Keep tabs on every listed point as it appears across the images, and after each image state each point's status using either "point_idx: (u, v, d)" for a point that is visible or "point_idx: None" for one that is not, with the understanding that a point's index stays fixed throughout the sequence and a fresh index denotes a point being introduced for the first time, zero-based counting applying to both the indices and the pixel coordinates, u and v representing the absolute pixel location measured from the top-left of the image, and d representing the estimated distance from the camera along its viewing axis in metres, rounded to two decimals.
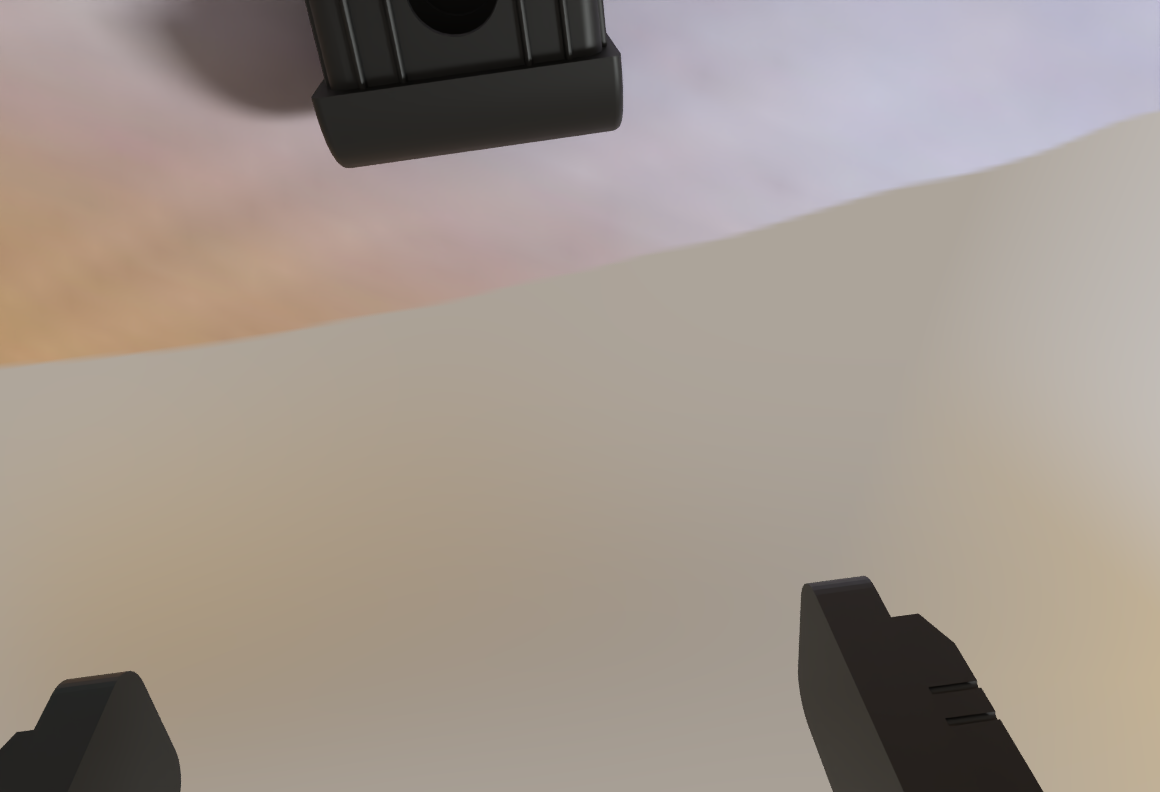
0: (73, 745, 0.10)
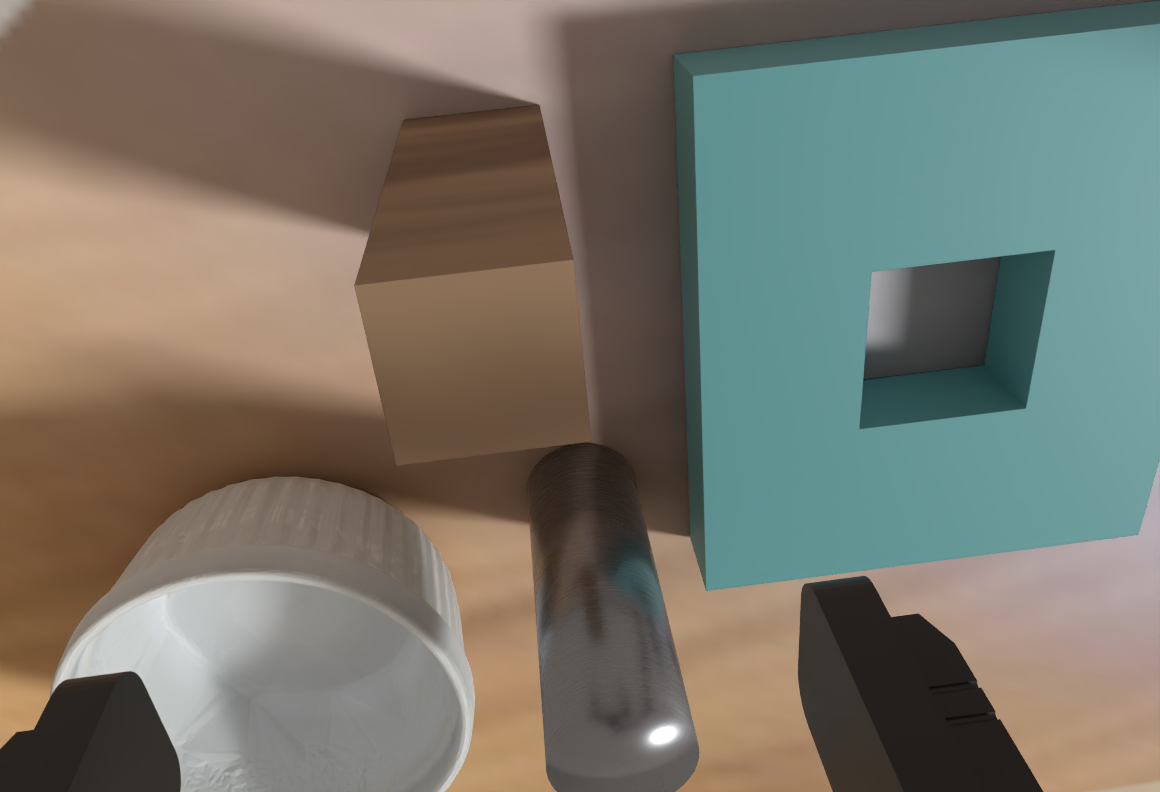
0: (73, 745, 0.10)
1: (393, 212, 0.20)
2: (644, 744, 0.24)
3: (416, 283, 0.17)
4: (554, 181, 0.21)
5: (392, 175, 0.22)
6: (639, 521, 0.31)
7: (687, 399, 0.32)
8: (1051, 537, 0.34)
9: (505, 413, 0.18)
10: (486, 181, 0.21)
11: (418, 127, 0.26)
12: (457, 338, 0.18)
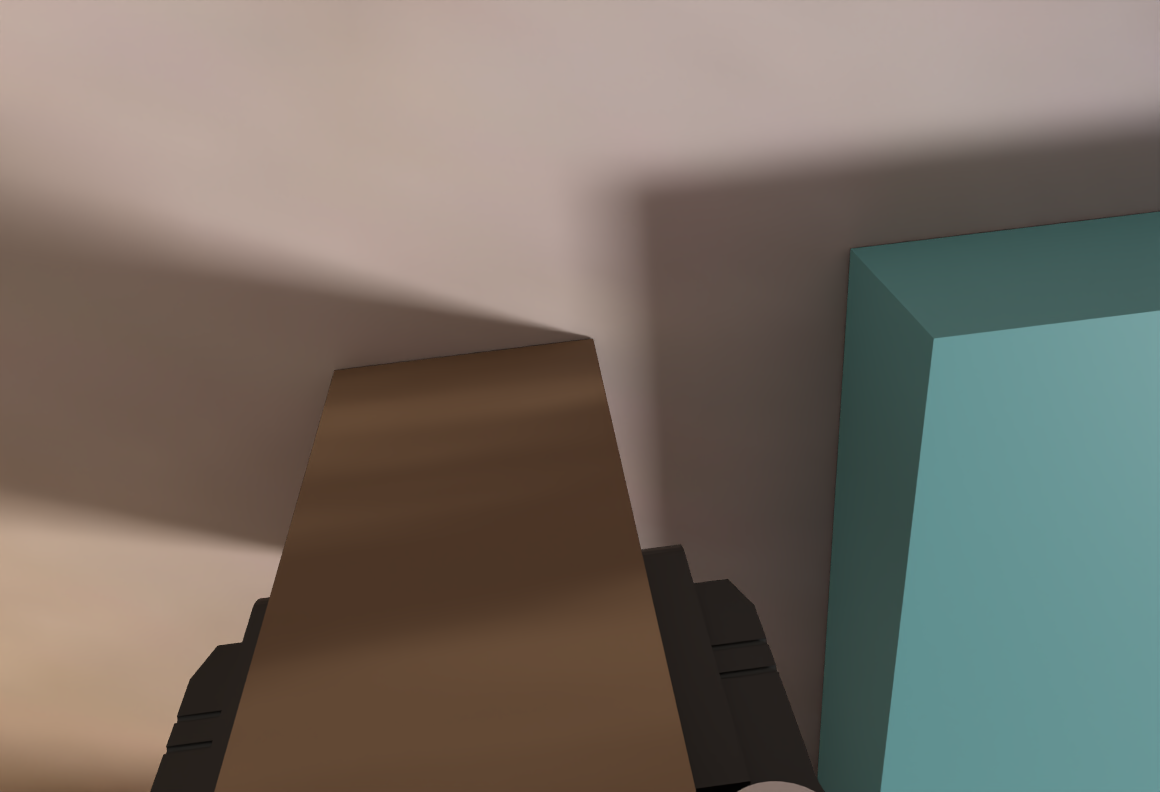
0: None
1: None
2: None
3: None
4: (675, 719, 0.08)
5: (276, 621, 0.10)
6: None
7: (825, 768, 0.19)
8: None
9: None
10: (497, 696, 0.08)
11: (359, 402, 0.13)
12: None
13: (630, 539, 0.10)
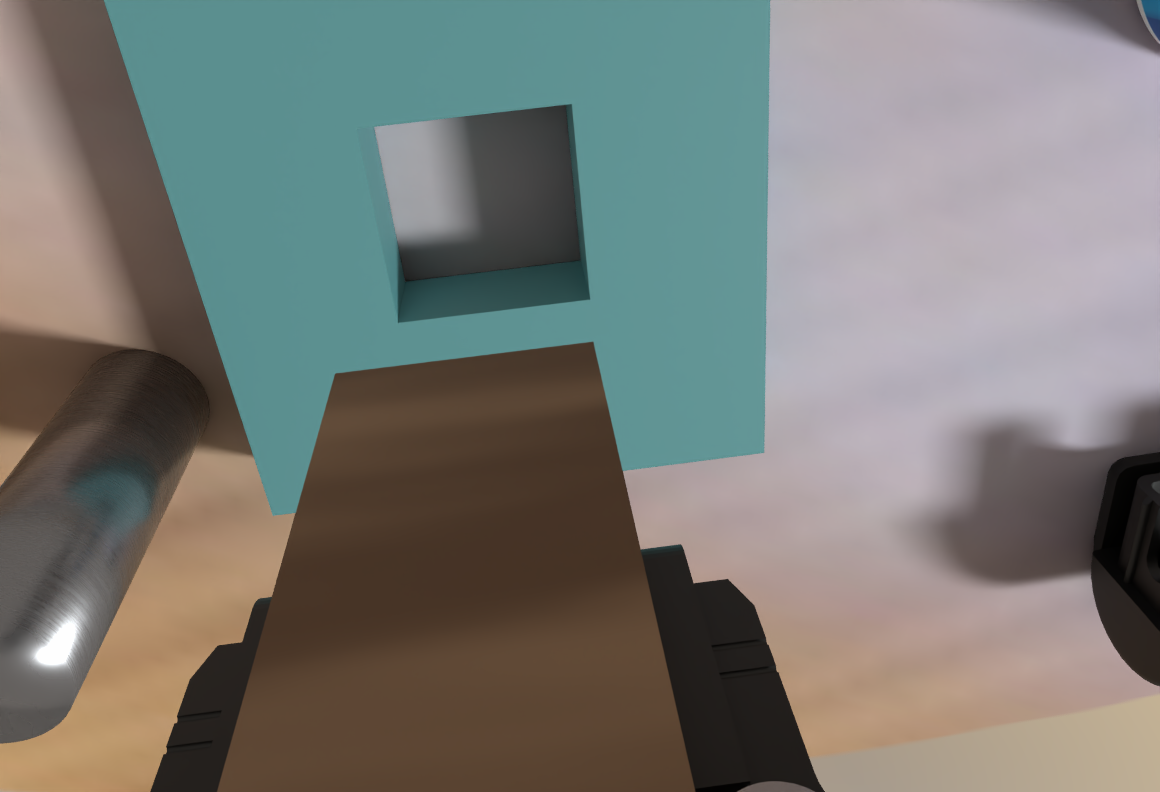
0: None
1: None
2: None
3: None
4: (675, 723, 0.08)
5: (277, 625, 0.10)
6: (154, 429, 0.27)
7: None
8: (662, 455, 0.30)
9: None
10: (499, 701, 0.08)
11: (360, 405, 0.13)
12: None
13: (630, 543, 0.10)
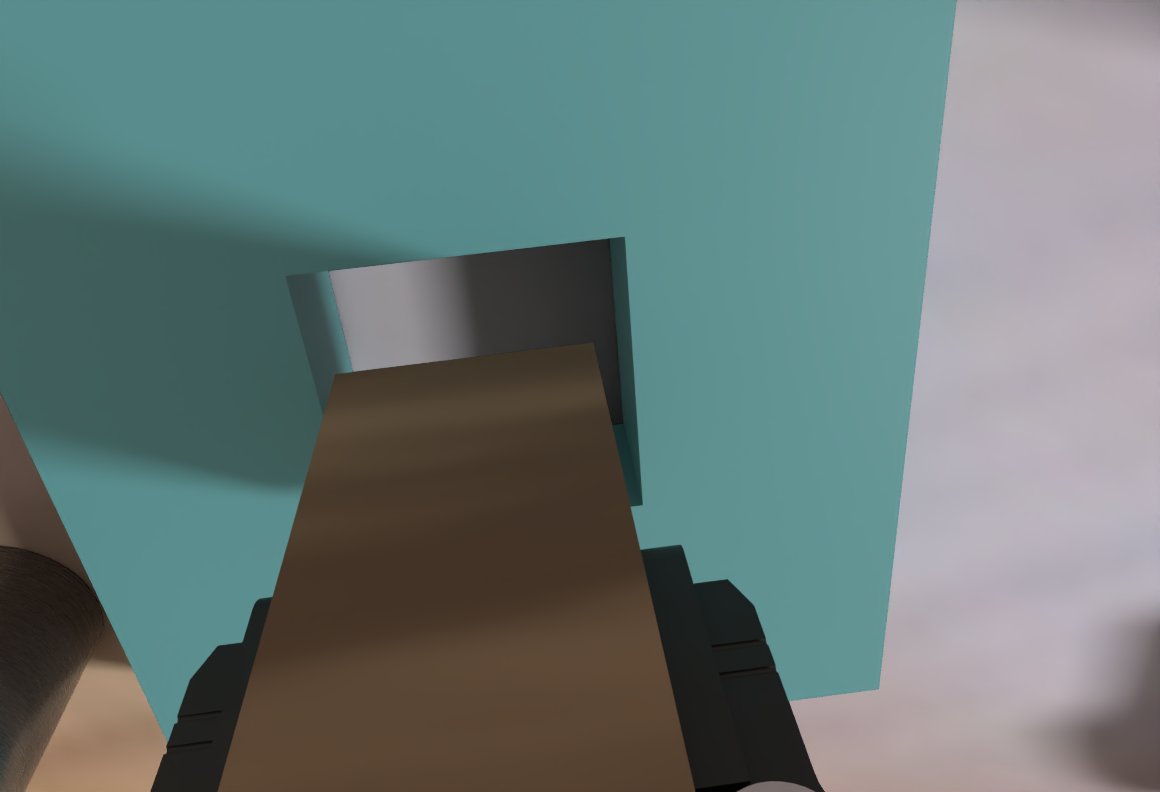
0: None
1: None
2: None
3: None
4: (675, 724, 0.08)
5: (277, 625, 0.10)
6: None
7: None
8: None
9: None
10: (497, 701, 0.08)
11: (360, 405, 0.13)
12: None
13: (630, 543, 0.10)
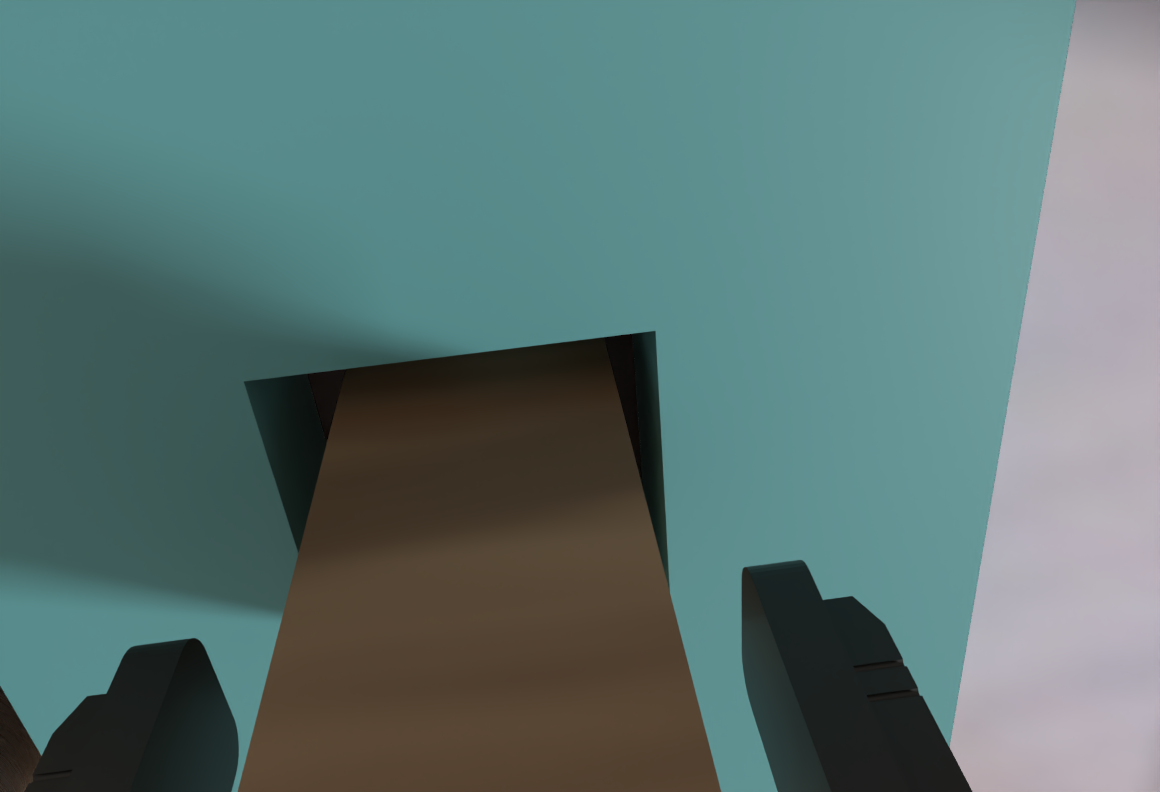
0: (146, 706, 0.10)
1: (299, 717, 0.08)
2: None
3: None
4: (668, 601, 0.09)
5: (316, 529, 0.11)
6: None
7: None
8: None
9: None
10: (514, 586, 0.10)
11: None
12: None
13: (629, 464, 0.12)
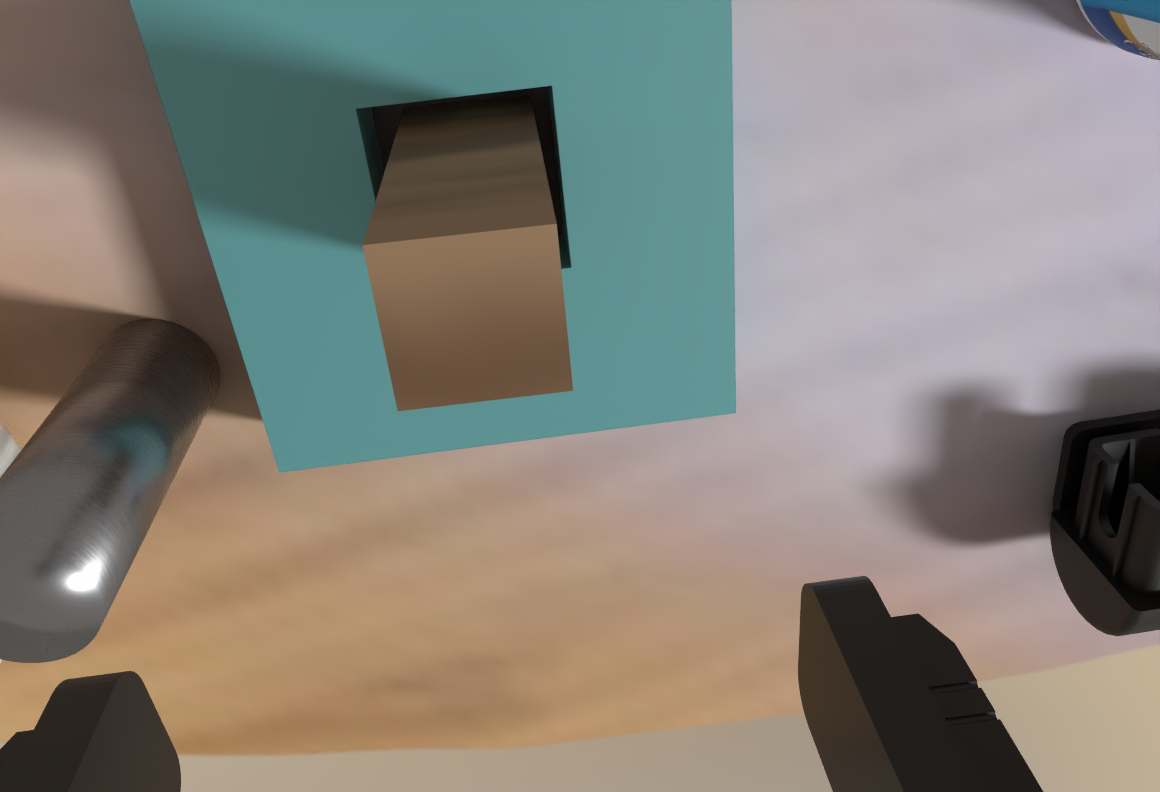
0: (73, 745, 0.10)
1: (396, 186, 0.22)
2: (30, 583, 0.22)
3: (417, 244, 0.19)
4: (541, 160, 0.23)
5: (394, 155, 0.25)
6: (170, 389, 0.29)
7: None
8: (641, 415, 0.32)
9: (496, 363, 0.21)
10: (480, 160, 0.24)
11: (418, 114, 0.28)
12: (453, 294, 0.20)
13: (535, 134, 0.25)
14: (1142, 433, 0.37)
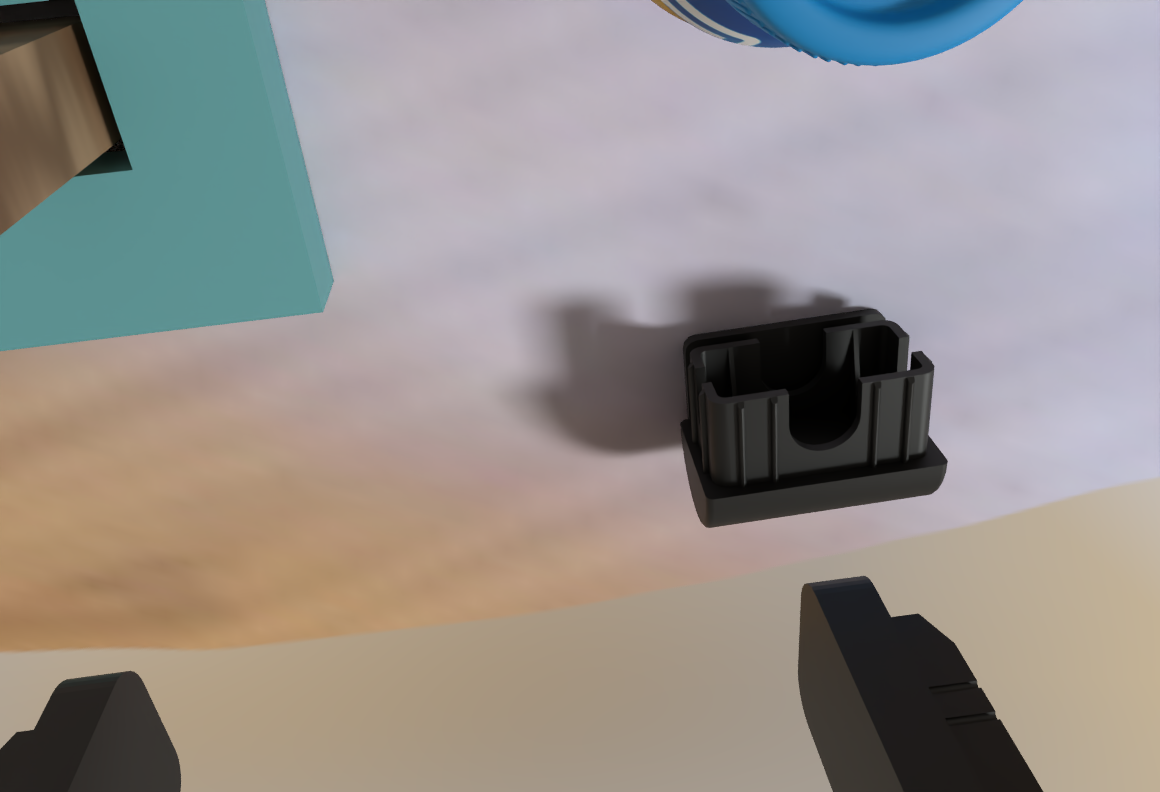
0: (73, 745, 0.10)
1: None
2: None
3: None
4: (4, 52, 0.26)
5: None
6: None
7: None
8: (233, 312, 0.35)
9: None
10: None
11: None
12: None
13: (38, 38, 0.28)
14: (741, 342, 0.40)
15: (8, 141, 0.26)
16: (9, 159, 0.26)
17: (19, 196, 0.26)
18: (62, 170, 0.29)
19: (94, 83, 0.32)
